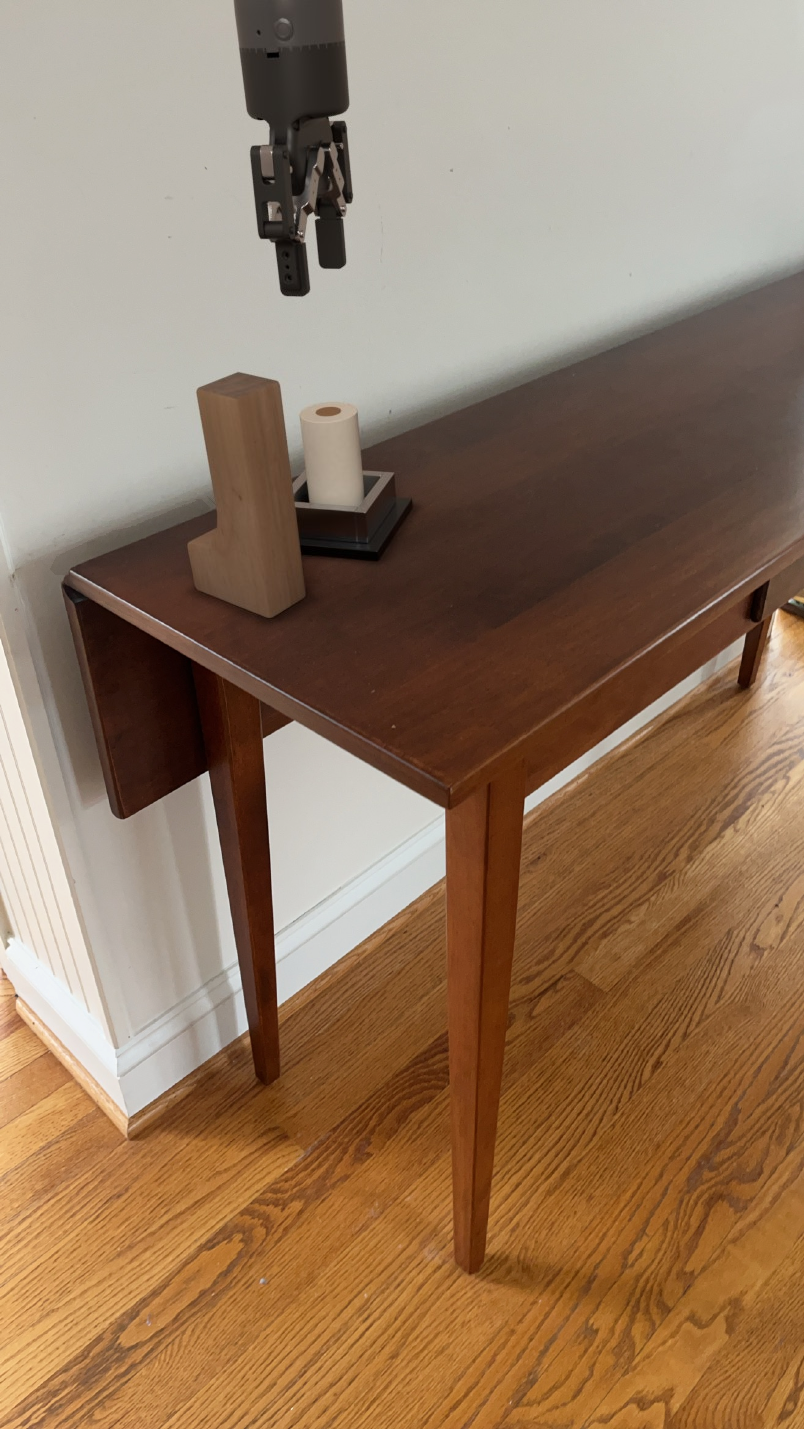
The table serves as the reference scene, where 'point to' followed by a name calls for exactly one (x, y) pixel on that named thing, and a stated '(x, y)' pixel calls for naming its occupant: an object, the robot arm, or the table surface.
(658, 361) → the table surface
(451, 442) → the table surface
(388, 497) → the stand
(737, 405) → the table surface
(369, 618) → the table surface
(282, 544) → the wooden block
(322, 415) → the paper roll
